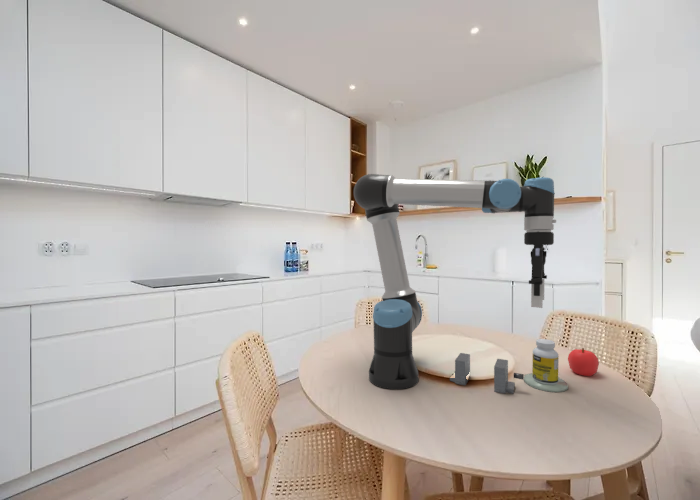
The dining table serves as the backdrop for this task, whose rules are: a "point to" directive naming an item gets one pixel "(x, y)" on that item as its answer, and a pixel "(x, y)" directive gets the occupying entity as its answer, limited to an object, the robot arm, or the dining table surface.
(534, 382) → the pale green round disc
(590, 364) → the apple
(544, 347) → the pill bottle
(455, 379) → the vise
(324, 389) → the dining table surface
